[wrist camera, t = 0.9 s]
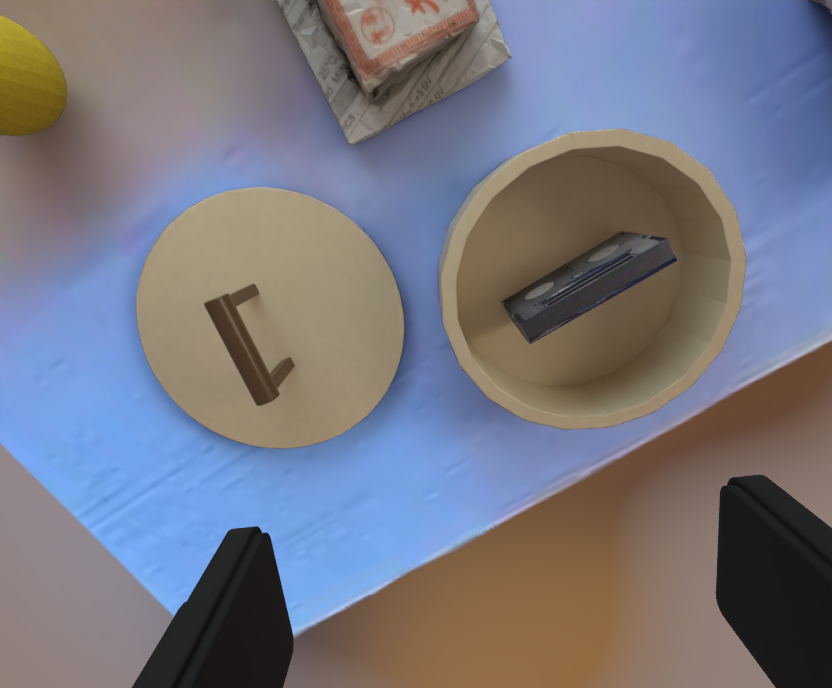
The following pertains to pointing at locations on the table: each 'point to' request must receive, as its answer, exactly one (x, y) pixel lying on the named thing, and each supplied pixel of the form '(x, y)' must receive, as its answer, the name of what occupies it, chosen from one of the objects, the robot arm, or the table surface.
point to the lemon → (28, 82)
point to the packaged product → (393, 54)
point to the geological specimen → (825, 4)
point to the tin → (566, 240)
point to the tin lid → (270, 317)
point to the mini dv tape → (587, 282)
